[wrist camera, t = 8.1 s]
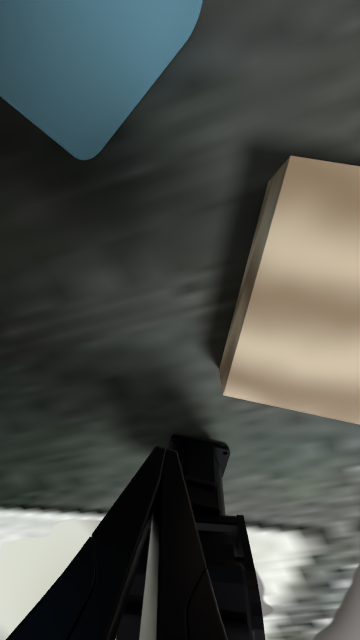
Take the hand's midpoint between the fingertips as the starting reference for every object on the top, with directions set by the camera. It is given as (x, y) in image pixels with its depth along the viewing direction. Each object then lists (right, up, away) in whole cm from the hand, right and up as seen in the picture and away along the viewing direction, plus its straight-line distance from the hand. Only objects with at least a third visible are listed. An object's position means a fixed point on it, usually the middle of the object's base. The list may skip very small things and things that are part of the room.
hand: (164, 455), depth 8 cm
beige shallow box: (+11, +7, +9) cm, 16 cm away
